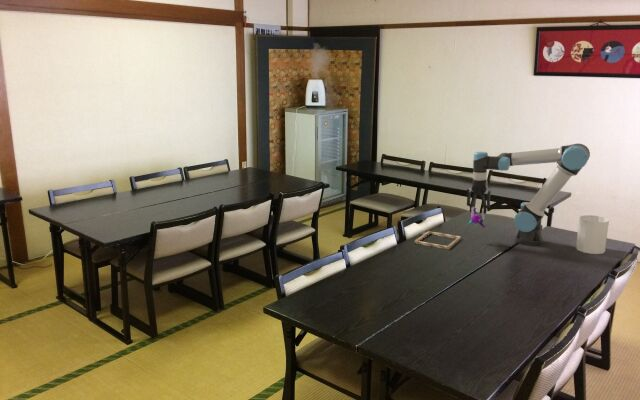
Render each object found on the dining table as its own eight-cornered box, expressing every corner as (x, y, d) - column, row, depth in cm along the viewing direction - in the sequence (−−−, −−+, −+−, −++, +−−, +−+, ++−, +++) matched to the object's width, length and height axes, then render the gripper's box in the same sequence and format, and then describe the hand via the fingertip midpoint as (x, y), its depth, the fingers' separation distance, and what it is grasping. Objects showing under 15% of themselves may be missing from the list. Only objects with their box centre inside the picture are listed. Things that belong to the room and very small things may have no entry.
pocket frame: (461, 238, 316) (461, 236, 315) (448, 249, 297) (448, 246, 297) (423, 232, 328) (423, 230, 328) (409, 242, 309) (409, 240, 309)
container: (597, 256, 287) (602, 223, 283) (571, 249, 298) (574, 218, 293) (608, 250, 296) (613, 218, 292) (582, 244, 307) (586, 213, 302)
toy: (490, 225, 311) (485, 225, 298) (475, 233, 315) (469, 233, 302) (480, 207, 314) (474, 206, 301) (466, 215, 318) (459, 214, 305)
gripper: (497, 179, 303) (495, 218, 308) (465, 176, 312) (463, 215, 318) (494, 181, 297) (492, 221, 302) (461, 178, 306) (460, 218, 312)
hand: (477, 218), depth 310 cm, fingers closed on toy, 5 cm apart
